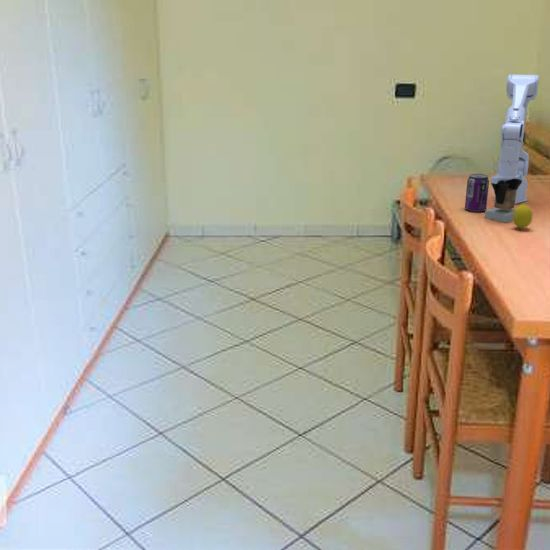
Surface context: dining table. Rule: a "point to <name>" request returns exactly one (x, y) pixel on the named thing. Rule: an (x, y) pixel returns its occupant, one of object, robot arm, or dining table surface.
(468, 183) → the beverage can
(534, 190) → the dining table surface
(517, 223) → the lemon
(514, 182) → the robot arm
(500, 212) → the grey base
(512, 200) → the walnut block
